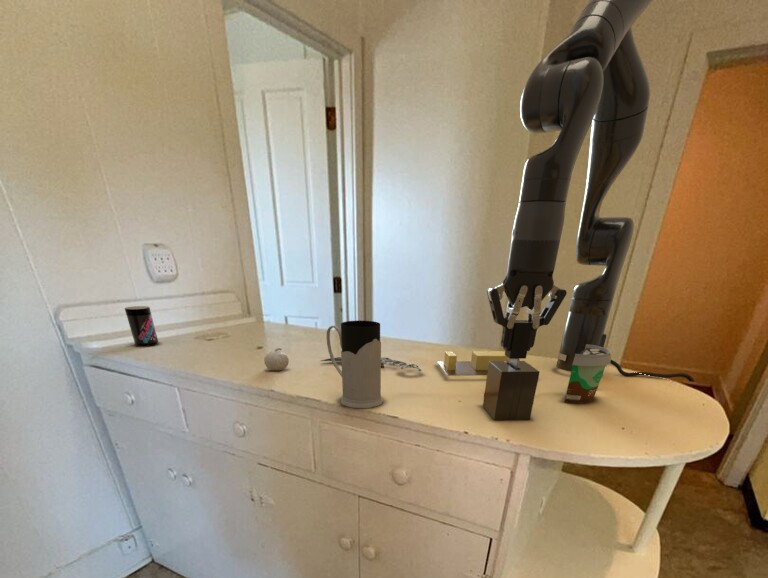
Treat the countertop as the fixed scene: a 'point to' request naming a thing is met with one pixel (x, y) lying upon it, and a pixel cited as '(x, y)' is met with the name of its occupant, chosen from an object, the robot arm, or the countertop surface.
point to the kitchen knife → (519, 342)
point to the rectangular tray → (462, 369)
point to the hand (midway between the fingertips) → (516, 349)
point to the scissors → (385, 361)
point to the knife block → (510, 390)
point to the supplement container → (141, 325)
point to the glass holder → (359, 363)
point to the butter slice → (450, 360)
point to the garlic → (276, 360)
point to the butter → (486, 358)
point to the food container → (587, 374)
